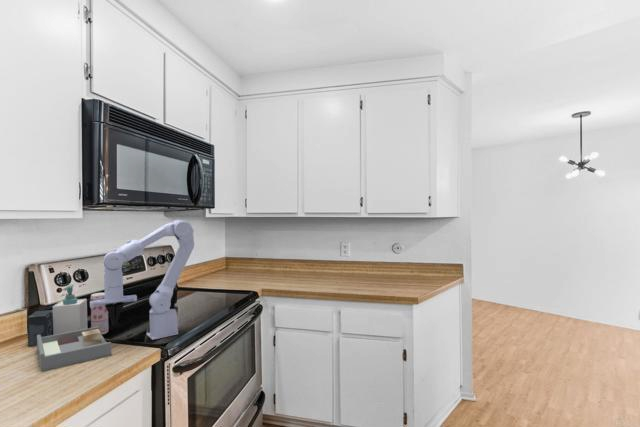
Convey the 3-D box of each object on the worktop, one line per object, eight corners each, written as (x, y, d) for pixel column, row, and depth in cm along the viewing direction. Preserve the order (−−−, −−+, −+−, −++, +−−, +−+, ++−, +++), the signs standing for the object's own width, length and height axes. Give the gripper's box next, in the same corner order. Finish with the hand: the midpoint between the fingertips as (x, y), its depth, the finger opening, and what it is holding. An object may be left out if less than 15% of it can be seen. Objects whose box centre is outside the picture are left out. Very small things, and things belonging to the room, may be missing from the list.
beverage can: (101, 335, 141) (99, 296, 141) (87, 335, 142) (86, 295, 142) (111, 330, 147) (110, 292, 147) (99, 330, 148) (98, 292, 148)
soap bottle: (53, 341, 136) (51, 289, 135) (62, 333, 144) (60, 284, 144) (80, 339, 138) (78, 287, 138) (87, 331, 147) (86, 282, 146)
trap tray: (99, 337, 140) (99, 323, 140) (111, 354, 123) (111, 339, 123) (37, 349, 129) (36, 335, 128) (41, 371, 111) (40, 354, 111)
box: (47, 344, 133) (46, 315, 133) (27, 347, 131) (26, 316, 131) (54, 337, 140) (53, 309, 140) (35, 339, 138) (34, 311, 138)
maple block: (98, 338, 133) (98, 328, 133) (101, 342, 129) (100, 332, 129) (81, 342, 129) (81, 332, 129) (84, 346, 126) (83, 335, 126)
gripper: (133, 281, 141) (134, 317, 141) (88, 287, 132) (88, 325, 132) (138, 284, 135) (138, 322, 136) (91, 290, 126) (92, 331, 127)
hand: (114, 324), depth 134 cm, fingers closed
